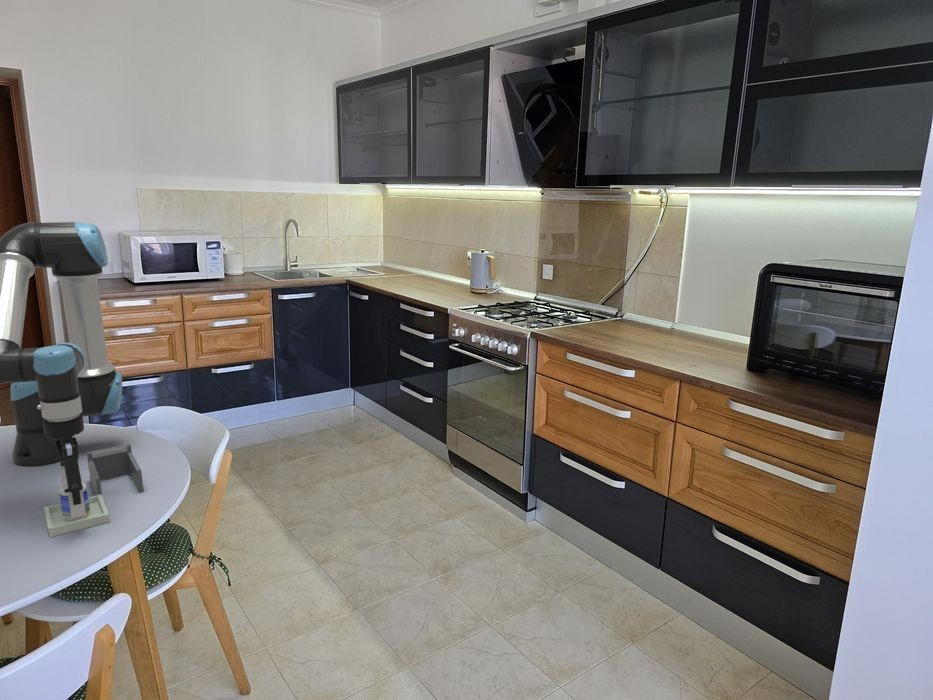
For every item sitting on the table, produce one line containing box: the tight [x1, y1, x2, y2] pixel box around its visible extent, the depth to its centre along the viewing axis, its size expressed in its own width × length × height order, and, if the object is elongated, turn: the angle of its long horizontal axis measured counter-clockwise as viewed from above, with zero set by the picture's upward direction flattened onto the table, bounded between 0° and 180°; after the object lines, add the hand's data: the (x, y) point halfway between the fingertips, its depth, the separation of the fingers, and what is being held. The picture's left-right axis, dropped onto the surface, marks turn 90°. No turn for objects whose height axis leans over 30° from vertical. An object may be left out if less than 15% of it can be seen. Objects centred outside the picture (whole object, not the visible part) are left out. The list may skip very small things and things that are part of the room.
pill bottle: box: [58, 473, 90, 521], centre depth 145 cm, size 5×5×10 cm
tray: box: [43, 494, 111, 538], centre depth 146 cm, size 12×12×2 cm
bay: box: [86, 443, 145, 499], centre depth 161 cm, size 14×10×8 cm
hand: (75, 504), depth 145 cm, fingers open, 13 cm apart
